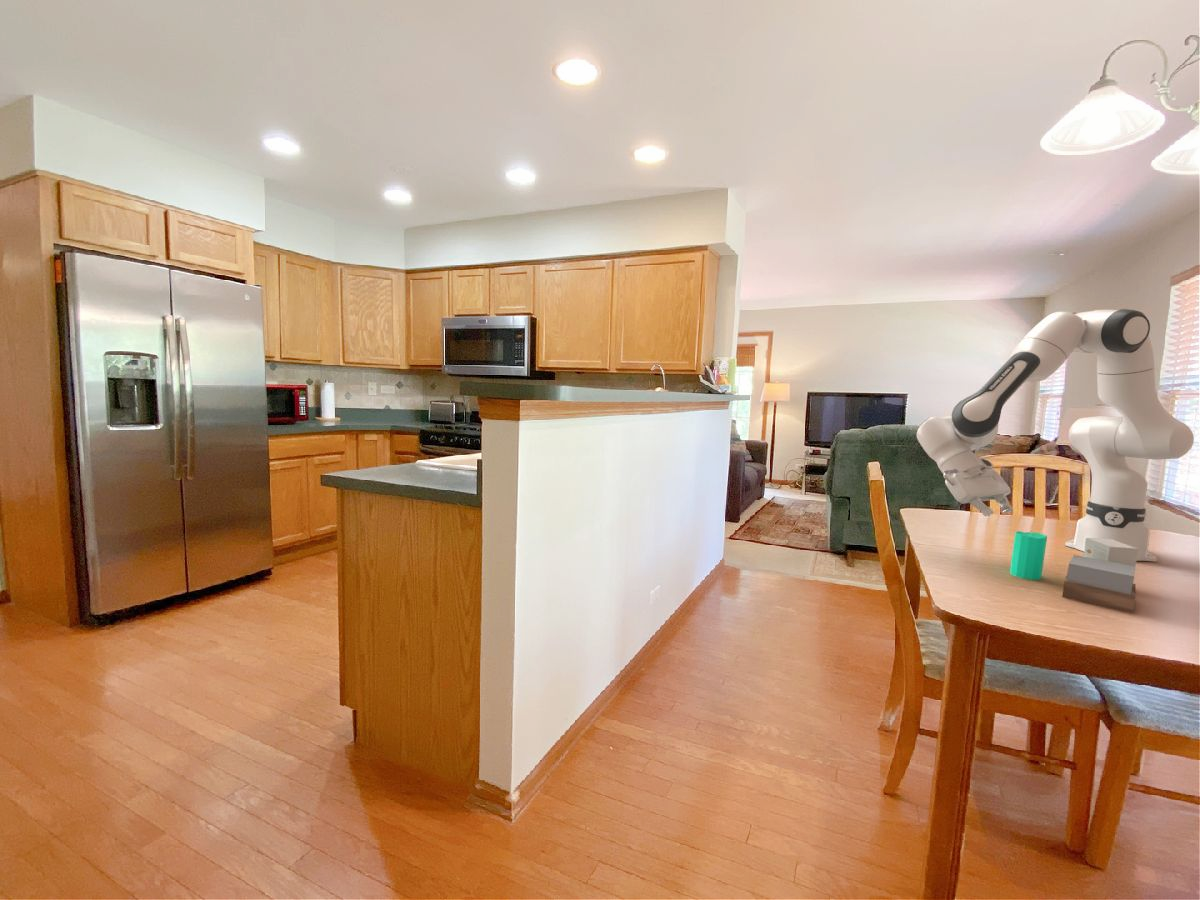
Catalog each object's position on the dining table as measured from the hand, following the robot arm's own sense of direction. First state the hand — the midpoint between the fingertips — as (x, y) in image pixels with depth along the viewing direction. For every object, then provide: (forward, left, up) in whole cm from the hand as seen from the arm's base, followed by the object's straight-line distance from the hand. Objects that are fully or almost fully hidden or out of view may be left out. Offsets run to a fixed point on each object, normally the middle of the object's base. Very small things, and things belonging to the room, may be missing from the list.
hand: (999, 513), depth 133 cm
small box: (-4, +21, -14) cm, 25 cm away
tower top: (+8, +20, -10) cm, 24 cm away
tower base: (+8, +20, -14) cm, 26 cm away
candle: (+2, +7, -14) cm, 16 cm away
